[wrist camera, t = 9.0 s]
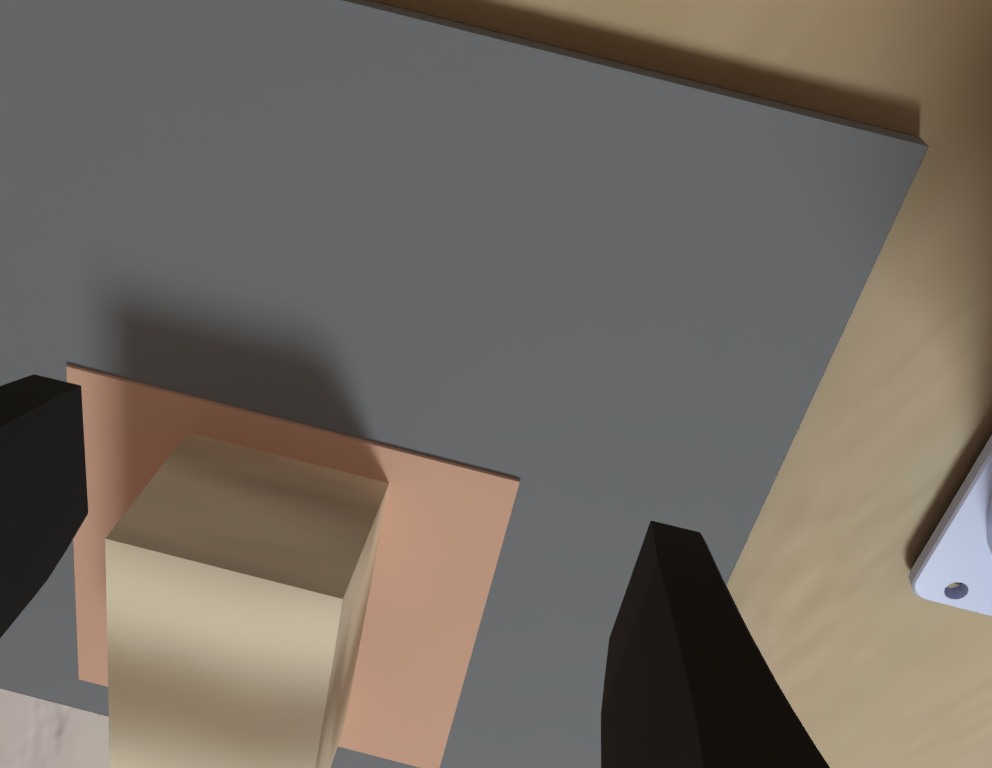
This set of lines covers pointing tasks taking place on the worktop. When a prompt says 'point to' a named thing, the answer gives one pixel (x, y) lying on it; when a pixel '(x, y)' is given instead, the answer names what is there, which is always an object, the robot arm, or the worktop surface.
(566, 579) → the mat
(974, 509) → the robot arm
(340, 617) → the card box
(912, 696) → the worktop surface
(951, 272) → the worktop surface
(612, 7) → the worktop surface
